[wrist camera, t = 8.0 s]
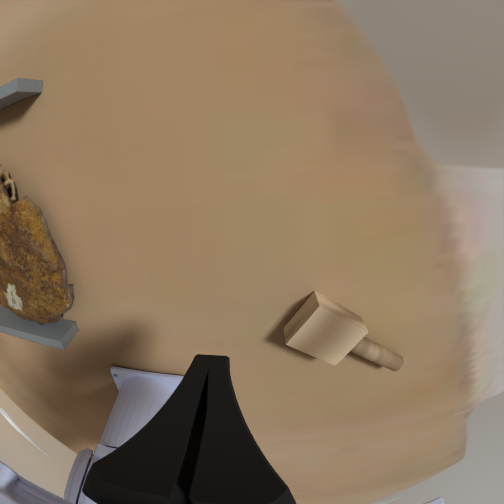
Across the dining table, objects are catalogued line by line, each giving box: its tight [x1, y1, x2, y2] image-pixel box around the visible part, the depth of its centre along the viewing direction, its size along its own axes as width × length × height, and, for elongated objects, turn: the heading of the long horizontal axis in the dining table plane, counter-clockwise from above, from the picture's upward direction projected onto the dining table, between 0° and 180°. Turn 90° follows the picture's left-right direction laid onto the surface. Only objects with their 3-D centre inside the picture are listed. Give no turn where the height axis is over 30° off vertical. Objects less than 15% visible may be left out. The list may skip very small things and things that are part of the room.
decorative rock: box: [0, 165, 74, 325], centre depth 18 cm, size 11×4×15 cm
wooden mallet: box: [283, 291, 403, 371], centre depth 22 cm, size 12×4×2 cm, turn 58°
